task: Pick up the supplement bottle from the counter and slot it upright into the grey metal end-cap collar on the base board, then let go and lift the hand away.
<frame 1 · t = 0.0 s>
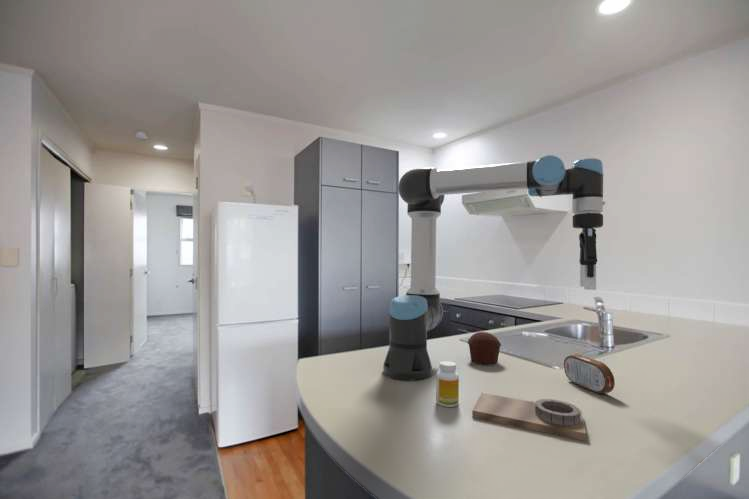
hand: (587, 288, 100), 28 cm above the worktop, fingers open, 13 cm apart
supplement bottle: (447, 404, 86), on the worktop
tin: (586, 388, 99), on the worktop
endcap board: (527, 417, 79), on the worktop
muffin: (483, 362, 123), on the worktop
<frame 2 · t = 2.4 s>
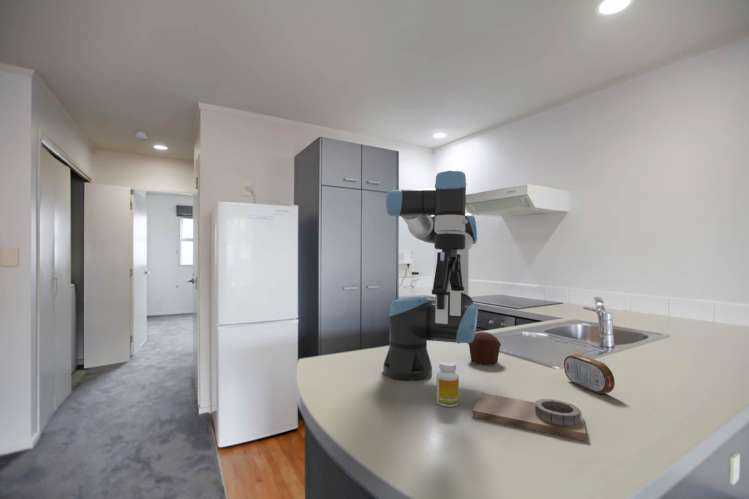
hand: (448, 319, 87), 21 cm above the worktop, fingers open, 13 cm apart
nothing on the worktop moved.
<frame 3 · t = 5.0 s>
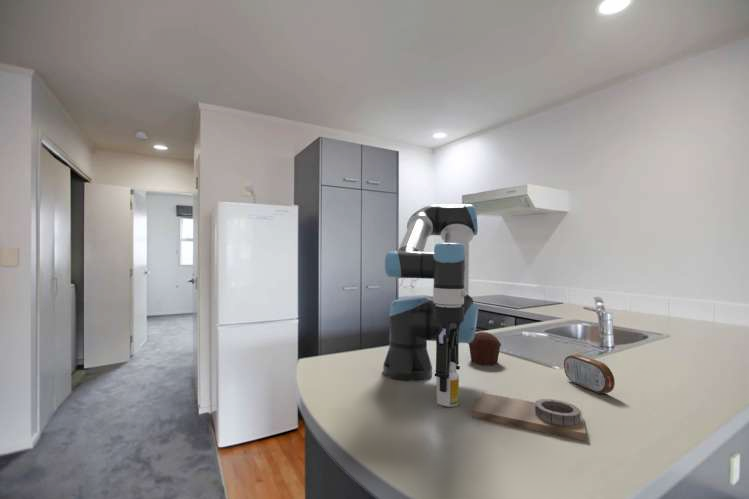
hand: (447, 399, 86), 1 cm above the worktop, fingers closed on supplement bottle, 5 cm apart
supplement bottle: (447, 403, 86), on the worktop, touching gripper
everything else where it was.
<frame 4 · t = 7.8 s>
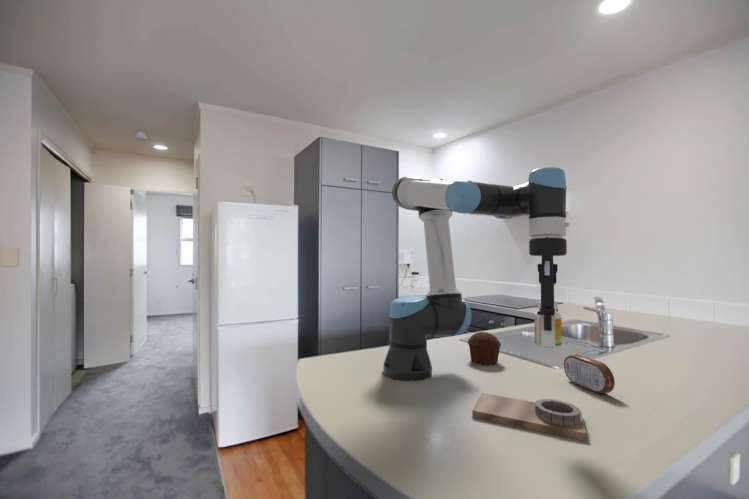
hand: (548, 342, 78), 17 cm above the worktop, fingers closed on supplement bottle, 5 cm apart
supplement bottle: (547, 347, 78), point 16 cm above the worktop, touching gripper
everything else where it was.
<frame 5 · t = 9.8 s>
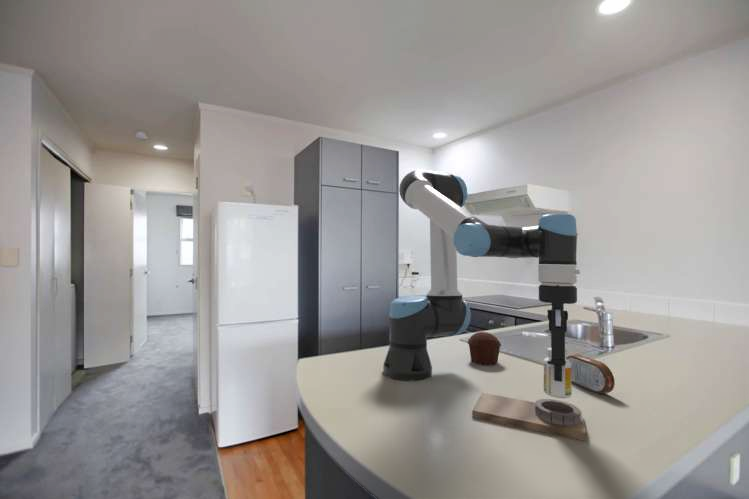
hand: (557, 390, 77), 7 cm above the worktop, fingers closed on supplement bottle, 5 cm apart
supplement bottle: (557, 395, 77), point 6 cm above the worktop, touching gripper
everything else where it was.
when the fingers open (4 cm above the worktop, at t = 11.0 s): supplement bottle drops 2 cm, resting on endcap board.
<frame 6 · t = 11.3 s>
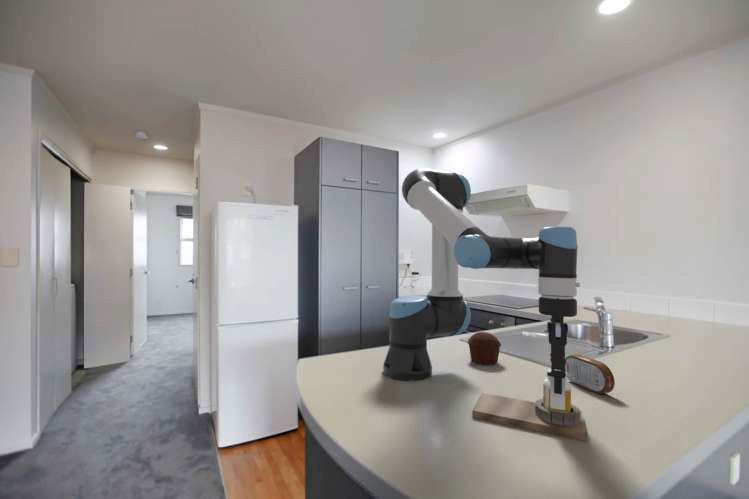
hand: (557, 399, 77), 5 cm above the worktop, fingers open, 9 cm apart
supplement bottle: (556, 417, 77), point 1 cm above the worktop, touching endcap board
everything else where it was.
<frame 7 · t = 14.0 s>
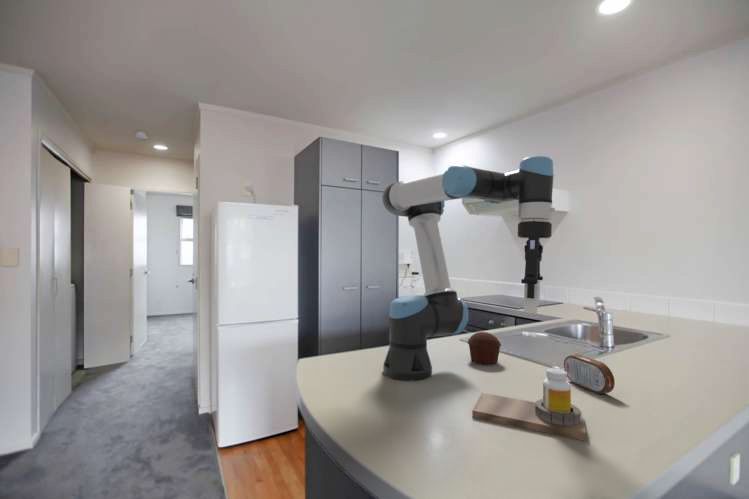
hand: (531, 308, 86), 24 cm above the worktop, fingers open, 13 cm apart
nothing on the worktop moved.
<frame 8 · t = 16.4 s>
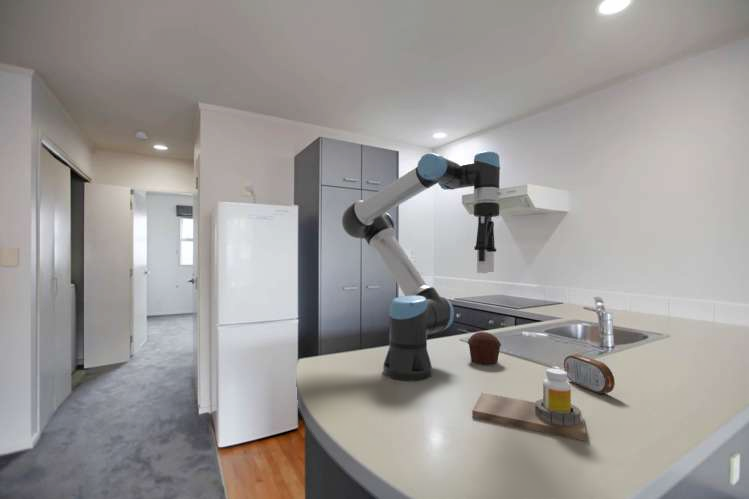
hand: (485, 272, 108), 32 cm above the worktop, fingers open, 13 cm apart
nothing on the worktop moved.
at the end: supplement bottle 0.1 cm from the target spot on the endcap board, point 1.3 cm above the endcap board's base; supplement bottle tilted 0°; the gripper is holding nothing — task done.
